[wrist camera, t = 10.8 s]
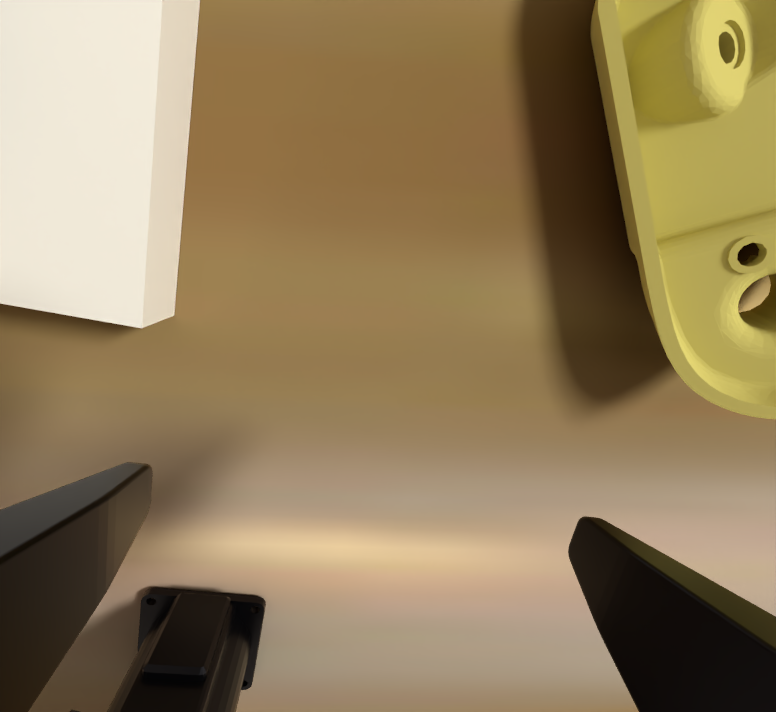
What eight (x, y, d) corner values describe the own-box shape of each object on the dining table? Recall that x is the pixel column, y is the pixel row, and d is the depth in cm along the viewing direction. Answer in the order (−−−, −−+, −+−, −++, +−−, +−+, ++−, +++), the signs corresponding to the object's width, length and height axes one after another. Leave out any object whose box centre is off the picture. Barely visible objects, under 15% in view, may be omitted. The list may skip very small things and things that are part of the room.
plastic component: (584, -61, 14) (1017, -314, 10) (571, 25, 21) (831, -106, 17) (673, 432, 18) (1007, 398, 14) (639, 375, 25) (861, 340, 21)
